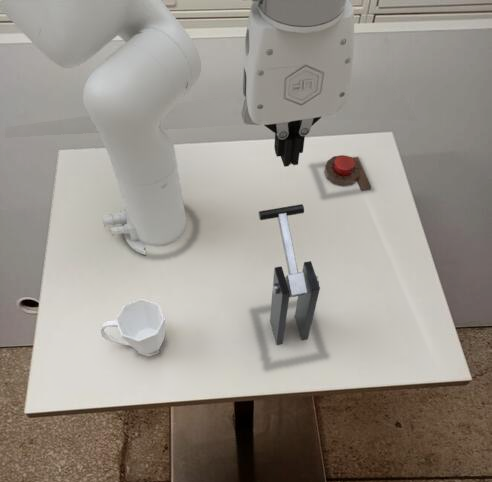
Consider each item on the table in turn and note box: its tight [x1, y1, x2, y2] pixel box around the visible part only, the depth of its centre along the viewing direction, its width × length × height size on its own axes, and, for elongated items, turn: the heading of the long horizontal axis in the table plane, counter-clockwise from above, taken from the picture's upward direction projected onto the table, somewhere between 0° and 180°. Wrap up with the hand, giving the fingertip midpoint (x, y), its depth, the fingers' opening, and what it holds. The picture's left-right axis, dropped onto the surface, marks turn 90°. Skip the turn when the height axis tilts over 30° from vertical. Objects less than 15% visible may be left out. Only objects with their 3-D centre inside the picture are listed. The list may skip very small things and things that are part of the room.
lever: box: [258, 203, 308, 299], centre depth 67 cm, size 12×6×2 cm, turn 12°
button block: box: [323, 154, 372, 192], centre depth 93 cm, size 9×8×2 cm
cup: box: [100, 297, 166, 358], centre depth 74 cm, size 7×10×8 cm
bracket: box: [269, 260, 321, 346], centre depth 72 cm, size 10×9×16 cm
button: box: [332, 154, 355, 177], centre depth 92 cm, size 4×4×2 cm
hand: (287, 157), depth 58 cm, fingers closed
